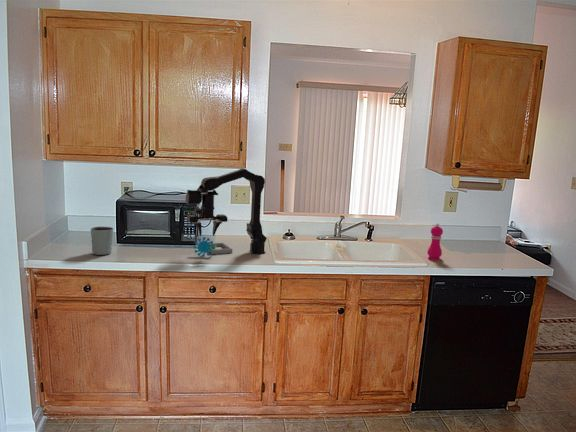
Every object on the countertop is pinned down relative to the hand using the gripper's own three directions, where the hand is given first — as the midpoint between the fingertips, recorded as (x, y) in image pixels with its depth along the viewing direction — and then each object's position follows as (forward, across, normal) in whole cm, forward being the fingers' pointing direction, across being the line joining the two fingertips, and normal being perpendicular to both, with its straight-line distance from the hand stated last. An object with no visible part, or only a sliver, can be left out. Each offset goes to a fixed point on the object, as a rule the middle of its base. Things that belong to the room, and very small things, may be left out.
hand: (206, 235), depth 234 cm
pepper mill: (+10, -111, +38) cm, 118 cm away
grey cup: (+11, +46, -20) cm, 51 cm away
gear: (+11, +1, 0) cm, 11 cm away
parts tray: (+10, -9, -10) cm, 17 cm away
